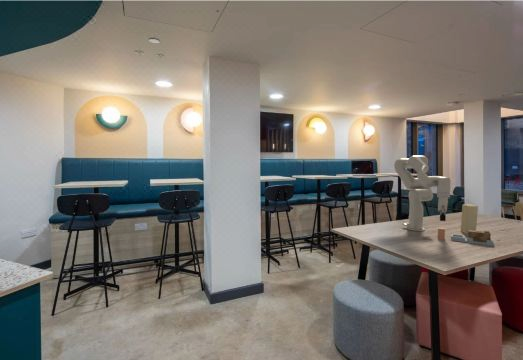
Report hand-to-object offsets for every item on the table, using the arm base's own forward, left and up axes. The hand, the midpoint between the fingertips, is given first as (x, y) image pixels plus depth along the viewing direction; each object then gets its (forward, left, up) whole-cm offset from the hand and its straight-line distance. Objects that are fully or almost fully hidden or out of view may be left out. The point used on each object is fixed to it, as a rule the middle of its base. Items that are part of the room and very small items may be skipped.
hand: (442, 219), depth 192 cm
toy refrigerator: (+17, +27, -14) cm, 35 cm away
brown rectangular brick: (0, 0, -13) cm, 13 cm away
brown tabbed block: (+20, +4, -12) cm, 24 cm away
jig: (+17, +3, -13) cm, 21 cm away
